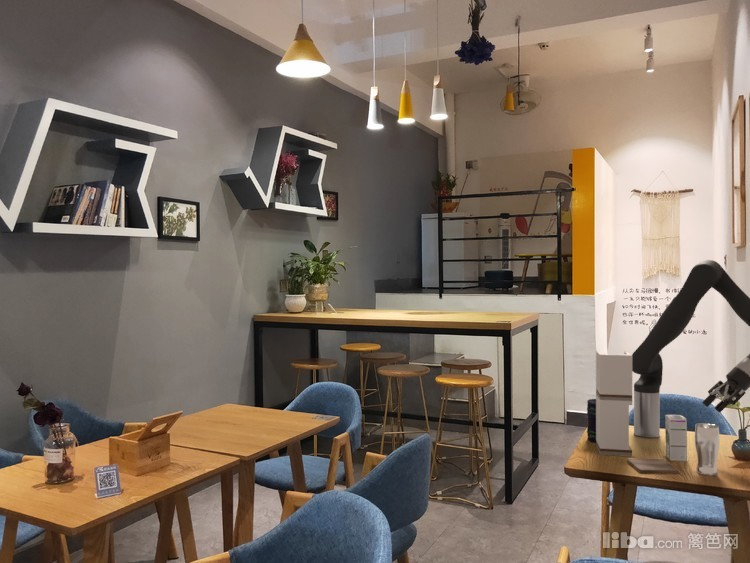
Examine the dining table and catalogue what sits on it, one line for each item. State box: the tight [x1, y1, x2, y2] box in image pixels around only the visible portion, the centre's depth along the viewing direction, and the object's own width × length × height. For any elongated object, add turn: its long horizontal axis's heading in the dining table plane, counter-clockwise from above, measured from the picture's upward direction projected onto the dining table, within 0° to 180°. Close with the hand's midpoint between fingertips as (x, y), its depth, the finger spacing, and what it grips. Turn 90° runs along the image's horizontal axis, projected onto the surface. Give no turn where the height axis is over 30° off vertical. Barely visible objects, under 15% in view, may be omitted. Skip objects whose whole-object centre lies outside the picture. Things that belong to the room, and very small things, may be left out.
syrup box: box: [664, 414, 688, 462], centre depth 211 cm, size 6×6×14 cm
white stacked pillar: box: [595, 350, 633, 457], centre depth 221 cm, size 11×11×35 cm
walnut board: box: [626, 458, 680, 474], centre depth 202 cm, size 12×12×1 cm
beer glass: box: [694, 422, 720, 477], centre depth 196 cm, size 7×7×15 cm
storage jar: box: [586, 398, 596, 444], centre depth 234 cm, size 10×10×15 cm
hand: (710, 407), depth 211 cm, fingers open, 8 cm apart
